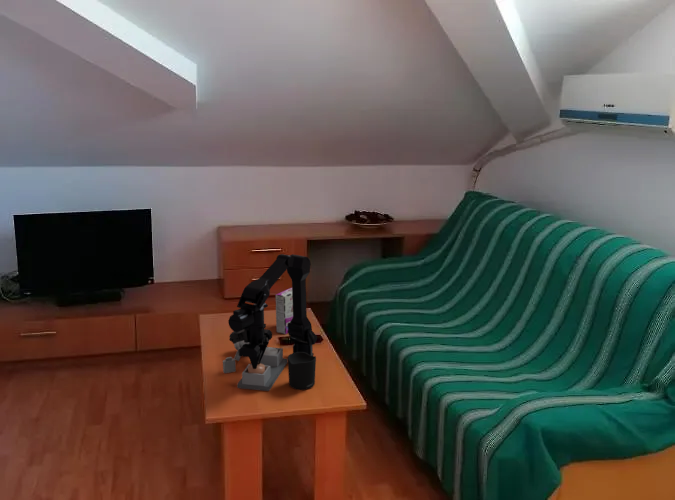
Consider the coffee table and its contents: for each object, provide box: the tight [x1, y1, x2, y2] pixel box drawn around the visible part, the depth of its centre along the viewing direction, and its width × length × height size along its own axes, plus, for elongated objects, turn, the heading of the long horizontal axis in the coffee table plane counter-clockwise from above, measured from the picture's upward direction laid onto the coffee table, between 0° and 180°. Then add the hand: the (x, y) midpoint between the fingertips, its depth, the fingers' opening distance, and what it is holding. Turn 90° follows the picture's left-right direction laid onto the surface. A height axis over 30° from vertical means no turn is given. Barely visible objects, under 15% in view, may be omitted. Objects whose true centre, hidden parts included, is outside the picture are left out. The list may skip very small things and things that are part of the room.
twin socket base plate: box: [236, 346, 288, 392], centre depth 237 cm, size 11×24×6 cm, turn 169°
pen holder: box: [287, 352, 317, 391], centre depth 229 cm, size 9×9×10 cm
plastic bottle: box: [233, 337, 270, 351], centre depth 250 cm, size 6×7×20 cm
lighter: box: [222, 348, 242, 374], centre depth 240 cm, size 7×2×8 cm, turn 117°
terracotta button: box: [247, 363, 265, 374], centre depth 229 cm, size 6×6×4 cm
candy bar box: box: [274, 287, 293, 335], centre depth 279 cm, size 11×5×16 cm, turn 149°
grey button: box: [264, 347, 278, 356], centre depth 244 cm, size 6×6×4 cm
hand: (256, 366), depth 229 cm, fingers closed on terracotta button, 3 cm apart
